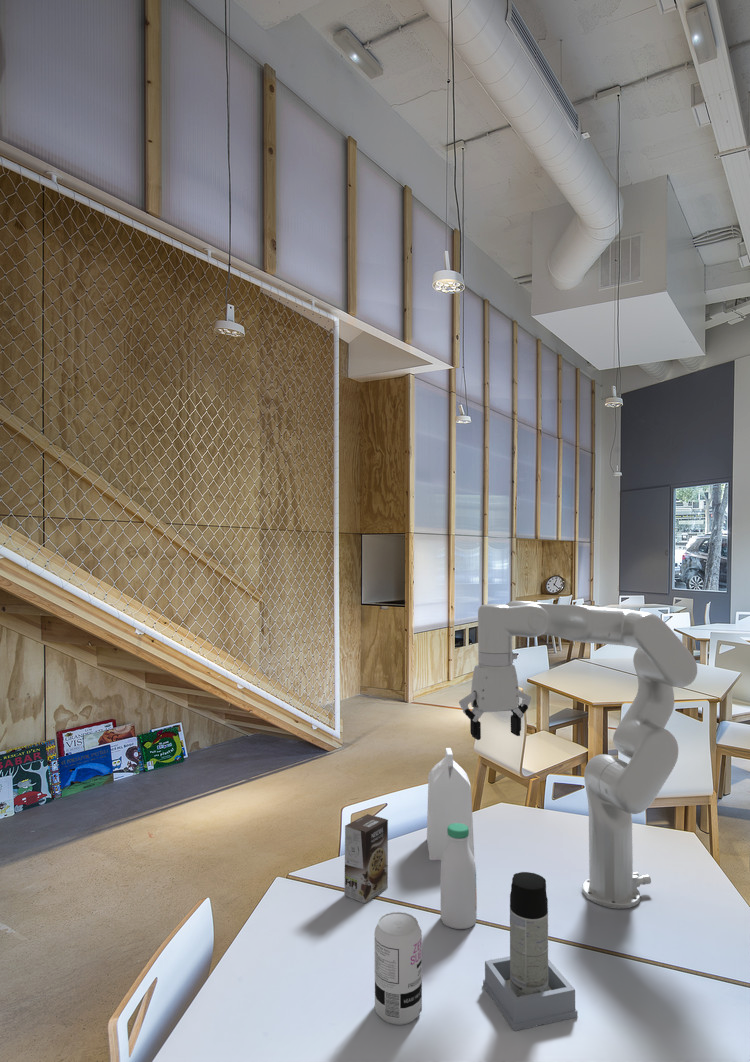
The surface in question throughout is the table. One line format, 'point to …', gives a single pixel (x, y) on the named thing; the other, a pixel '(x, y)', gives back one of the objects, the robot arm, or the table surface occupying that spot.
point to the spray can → (528, 934)
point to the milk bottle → (458, 880)
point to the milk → (447, 804)
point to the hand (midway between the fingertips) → (496, 736)
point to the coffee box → (366, 857)
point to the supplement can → (398, 968)
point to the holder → (529, 997)
